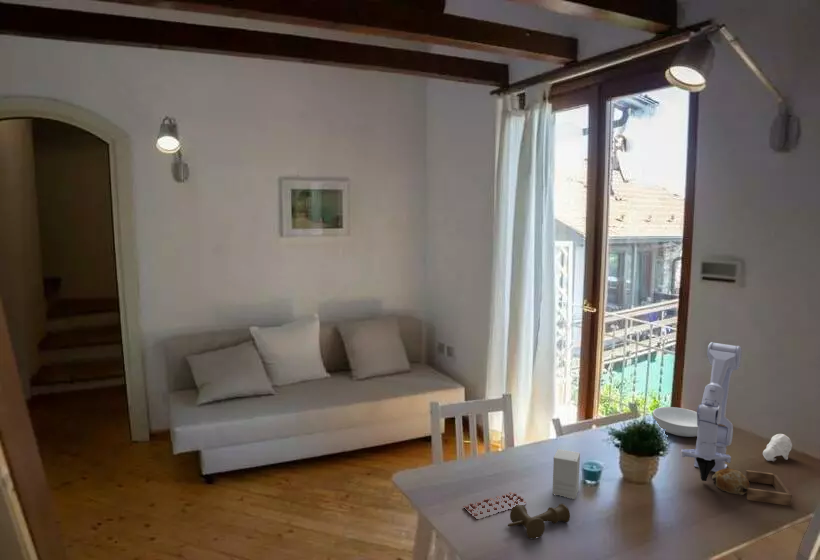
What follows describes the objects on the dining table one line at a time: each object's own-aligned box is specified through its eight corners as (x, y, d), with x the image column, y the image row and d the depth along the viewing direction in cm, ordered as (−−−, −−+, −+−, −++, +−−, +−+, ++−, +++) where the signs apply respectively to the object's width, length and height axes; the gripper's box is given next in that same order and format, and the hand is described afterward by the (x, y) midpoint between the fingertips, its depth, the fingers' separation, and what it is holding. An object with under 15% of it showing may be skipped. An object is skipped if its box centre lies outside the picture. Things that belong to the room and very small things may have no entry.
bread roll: (729, 506, 178) (741, 489, 174) (703, 480, 185) (714, 464, 181) (747, 498, 182) (760, 482, 178) (722, 474, 190) (733, 458, 186)
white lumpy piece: (794, 435, 203) (775, 445, 197) (793, 457, 204) (774, 467, 199) (776, 429, 208) (757, 438, 203) (775, 450, 210) (756, 460, 204)
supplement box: (579, 489, 180) (581, 452, 178) (575, 500, 173) (577, 461, 172) (555, 484, 183) (557, 448, 181) (551, 495, 176) (553, 457, 175)
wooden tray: (747, 499, 174) (748, 489, 174) (734, 478, 188) (735, 468, 188) (790, 505, 171) (791, 495, 171) (774, 483, 185) (775, 473, 185)
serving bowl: (659, 440, 219) (660, 423, 218) (646, 420, 239) (647, 405, 238) (716, 444, 216) (717, 427, 215) (697, 424, 236) (699, 408, 235)
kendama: (576, 530, 158) (517, 544, 150) (554, 514, 167) (497, 526, 159) (577, 510, 157) (518, 523, 149) (555, 495, 166) (498, 506, 158)
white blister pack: (527, 505, 171) (527, 499, 170) (476, 521, 162) (477, 515, 161) (512, 495, 177) (512, 489, 177) (463, 509, 168) (463, 503, 168)
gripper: (684, 442, 181) (681, 481, 183) (734, 448, 177) (731, 488, 179) (680, 434, 188) (678, 472, 189) (729, 439, 183) (725, 478, 185)
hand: (703, 479), depth 184 cm, fingers closed
